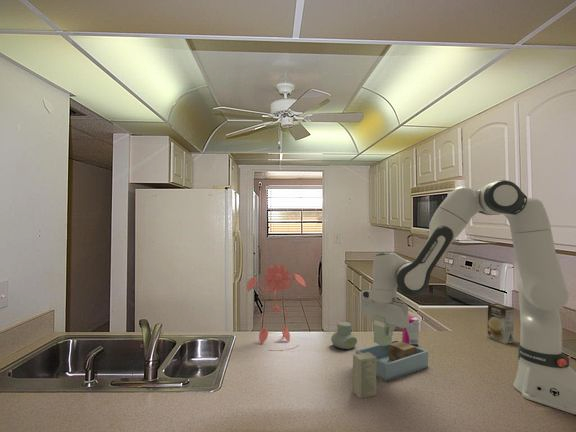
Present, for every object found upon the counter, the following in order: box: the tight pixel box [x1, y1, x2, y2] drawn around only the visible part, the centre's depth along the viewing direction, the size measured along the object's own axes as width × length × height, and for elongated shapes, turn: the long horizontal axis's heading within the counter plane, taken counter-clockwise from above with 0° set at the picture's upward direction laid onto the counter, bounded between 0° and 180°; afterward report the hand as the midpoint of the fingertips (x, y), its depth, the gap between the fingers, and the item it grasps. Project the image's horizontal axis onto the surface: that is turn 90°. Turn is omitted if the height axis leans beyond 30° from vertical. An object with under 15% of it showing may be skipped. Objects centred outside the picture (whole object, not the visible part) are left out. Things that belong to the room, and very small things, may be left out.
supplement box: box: [401, 315, 420, 346], centre depth 154 cm, size 6×6×12 cm
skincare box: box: [352, 352, 377, 399], centre depth 109 cm, size 6×4×12 cm
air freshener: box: [330, 321, 358, 350], centre depth 148 cm, size 11×8×10 cm
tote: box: [354, 339, 429, 383], centre depth 129 cm, size 15×24×6 cm, turn 124°
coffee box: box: [486, 302, 515, 345], centre depth 161 cm, size 9×6×16 cm
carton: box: [373, 315, 393, 346], centre depth 127 cm, size 5×5×10 cm
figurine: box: [246, 263, 307, 352], centre depth 149 cm, size 15×26×35 cm, turn 103°
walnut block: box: [389, 340, 417, 361], centre depth 133 cm, size 7×7×6 cm
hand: (383, 333), depth 127 cm, fingers closed on carton, 4 cm apart
